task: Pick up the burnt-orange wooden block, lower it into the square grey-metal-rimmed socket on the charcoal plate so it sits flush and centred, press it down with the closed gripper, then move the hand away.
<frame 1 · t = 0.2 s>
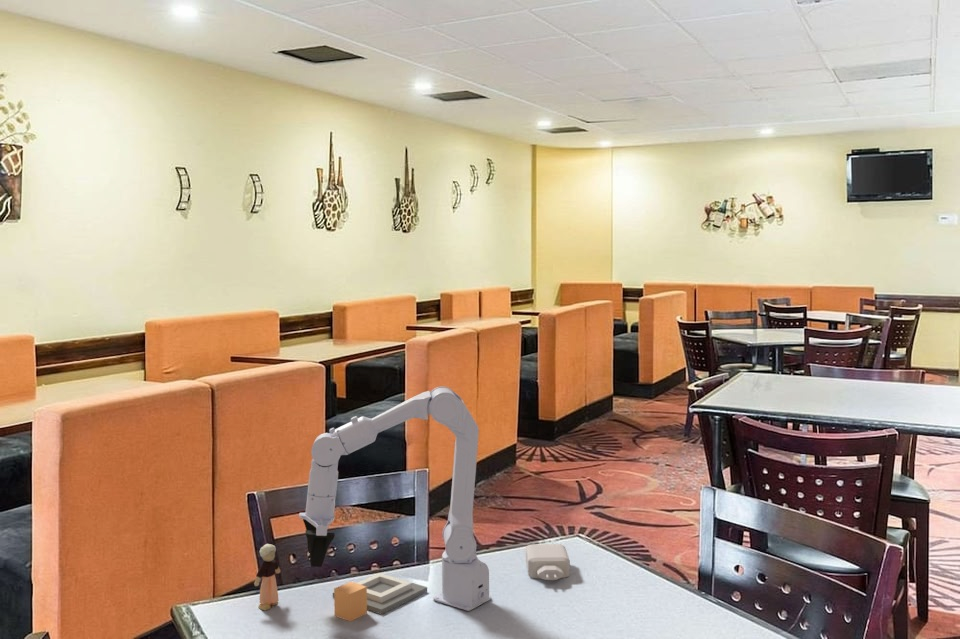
hand: (314, 559, 162), 10 cm above the table, tool pointing down, fingers open, 7 cm apart
block: (350, 614, 159), on the table
socket plate: (380, 594, 169), on the table
charger: (548, 577, 179), on the table
grandmother figurine: (269, 605, 164), on the table
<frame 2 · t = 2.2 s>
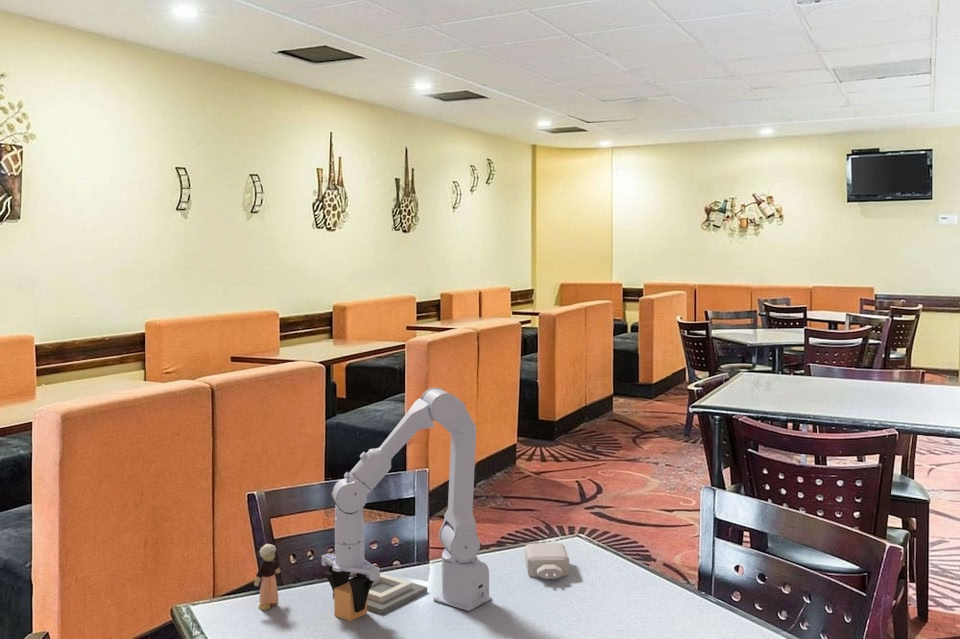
hand: (350, 607, 159), 1 cm above the table, tool pointing down, fingers closed on block, 4 cm apart
block: (350, 614, 159), on the table, touching gripper
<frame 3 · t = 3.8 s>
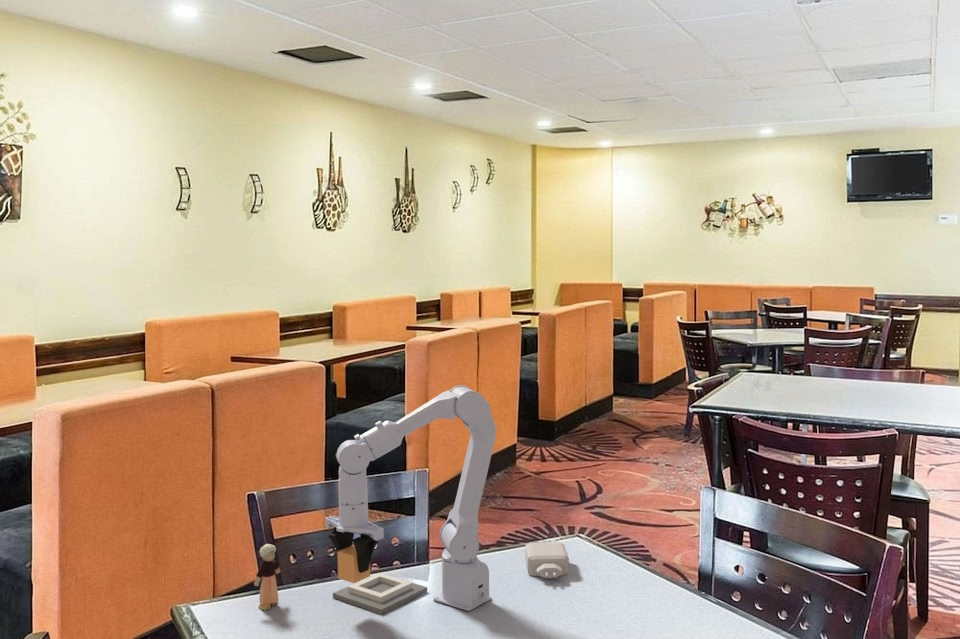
hand: (354, 568, 160), 9 cm above the table, tool pointing down, fingers closed on block, 4 cm apart
block: (354, 577, 160), point 7 cm above the table, touching gripper
when the fingers open (4 cm above the table, at t = 5.7 s): block stays where it is, point 2 cm above the table.
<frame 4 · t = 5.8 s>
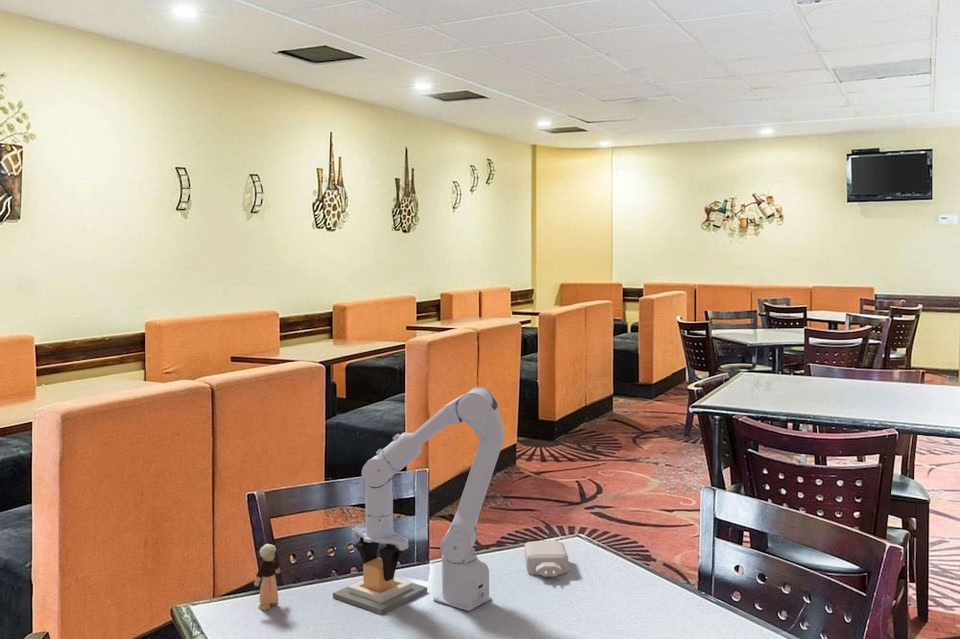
hand: (380, 576, 169), 4 cm above the table, tool pointing down, fingers open, 5 cm apart
block: (379, 588, 168), point 2 cm above the table
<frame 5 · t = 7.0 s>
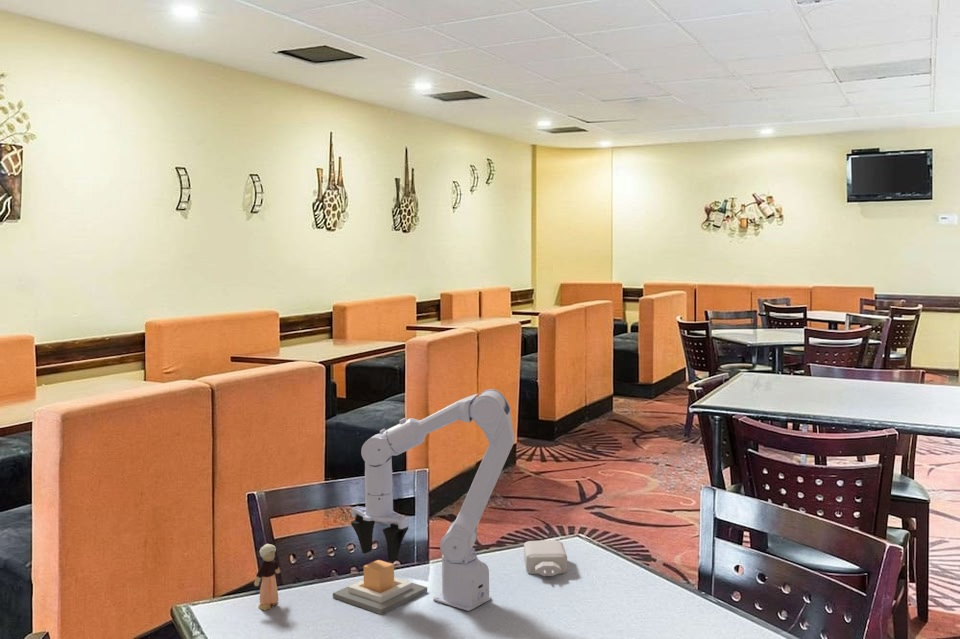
hand: (379, 555, 168), 8 cm above the table, tool pointing down, fingers open, 7 cm apart
block: (379, 590, 168), point 1 cm above the table, touching socket plate
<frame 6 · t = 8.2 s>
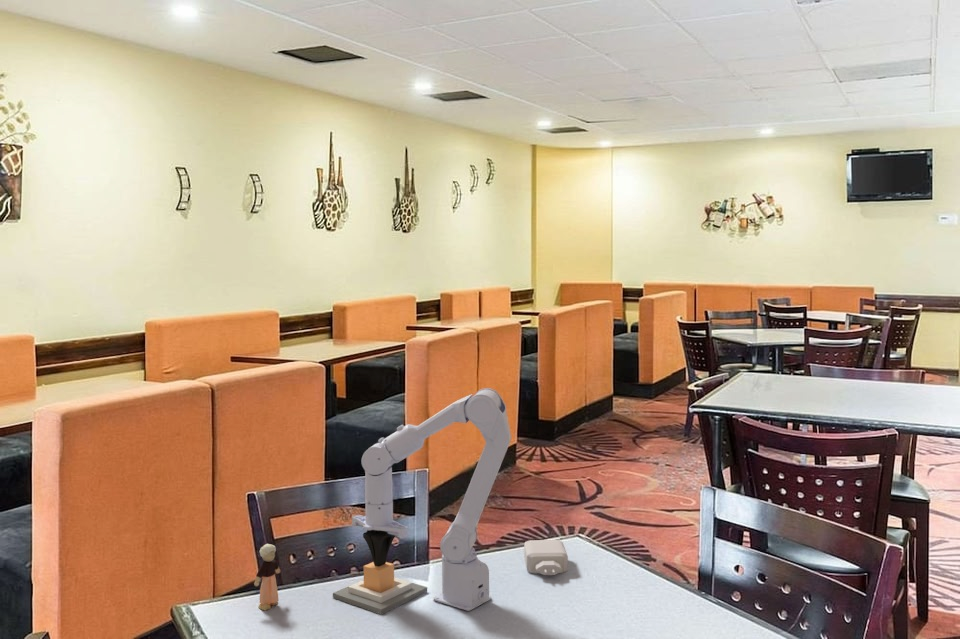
hand: (379, 564, 168), 6 cm above the table, tool pointing down, fingers closed, pressing on block
block: (379, 590, 168), point 1 cm above the table, touching gripper, socket plate
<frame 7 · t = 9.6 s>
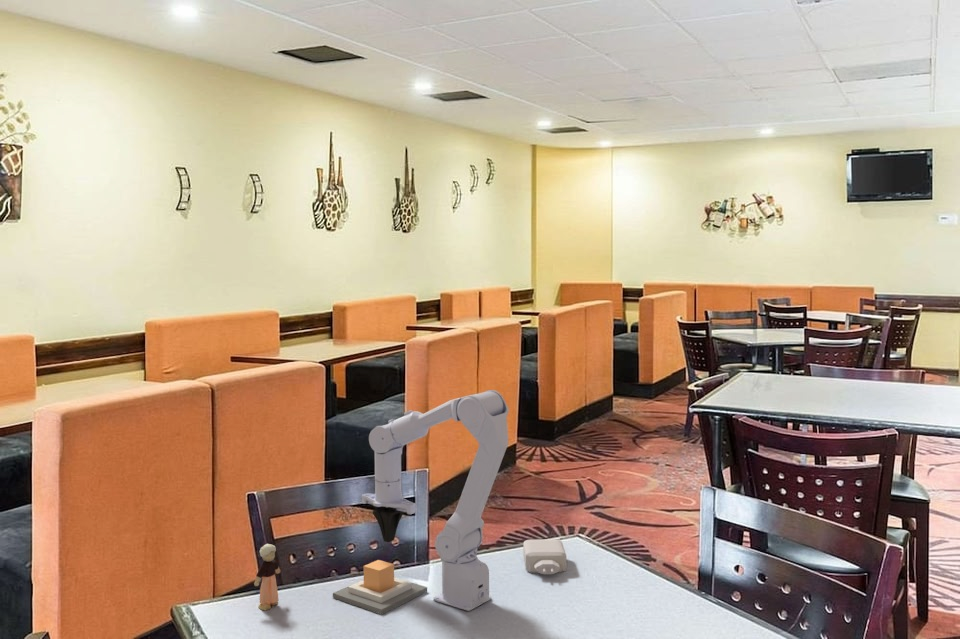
hand: (389, 540, 175), 9 cm above the table, tool pointing down, fingers closed
block: (379, 590, 168), point 1 cm above the table, touching socket plate
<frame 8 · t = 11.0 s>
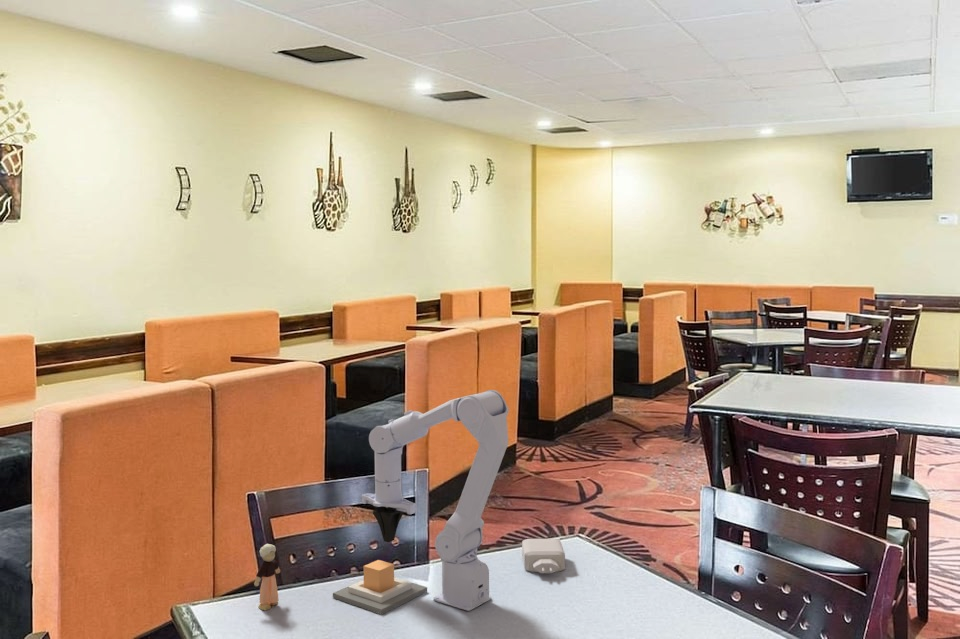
hand: (389, 540, 175), 9 cm above the table, tool pointing down, fingers closed
at the end: block 0.4 cm off-centre on the socket plate, point 1.0 cm above the socket plate's base; block tilted 0°; the gripper is holding nothing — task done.
